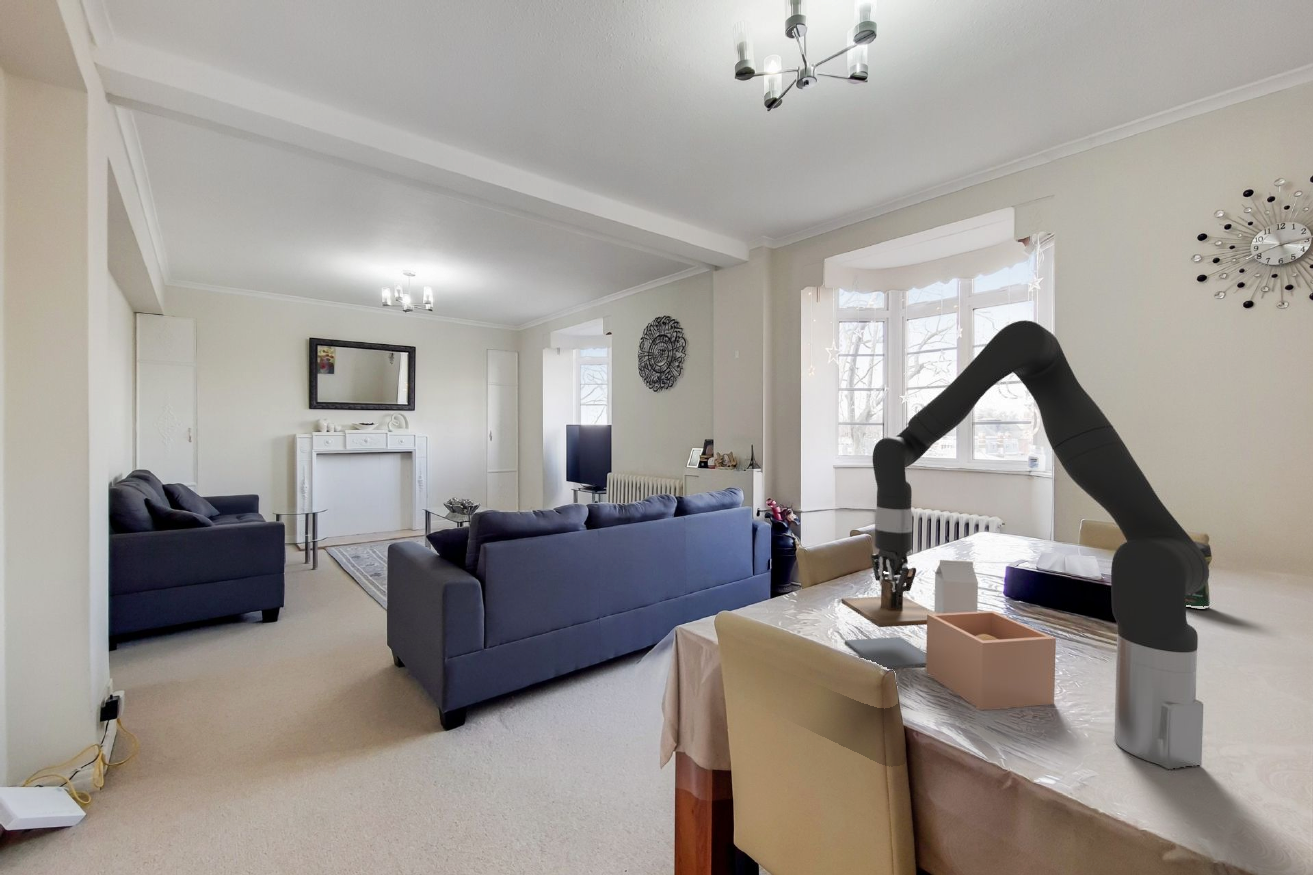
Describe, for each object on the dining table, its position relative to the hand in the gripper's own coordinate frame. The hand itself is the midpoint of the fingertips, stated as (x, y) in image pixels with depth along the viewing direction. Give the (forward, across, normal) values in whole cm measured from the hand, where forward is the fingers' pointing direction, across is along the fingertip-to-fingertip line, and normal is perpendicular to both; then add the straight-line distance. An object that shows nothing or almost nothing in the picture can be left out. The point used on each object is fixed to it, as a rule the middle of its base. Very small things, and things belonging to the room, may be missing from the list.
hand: (891, 605), depth 122 cm
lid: (+2, 0, 0) cm, 2 cm away
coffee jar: (+11, +18, -104) cm, 106 cm away
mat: (+11, 0, 0) cm, 11 cm away
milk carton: (+11, +4, -19) cm, 22 cm away
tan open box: (+11, -18, -9) cm, 22 cm away
